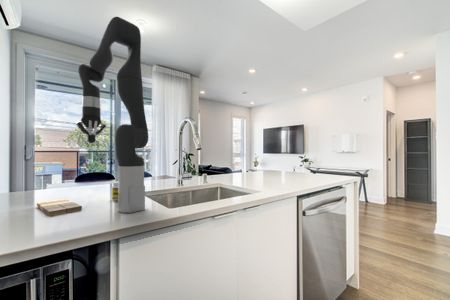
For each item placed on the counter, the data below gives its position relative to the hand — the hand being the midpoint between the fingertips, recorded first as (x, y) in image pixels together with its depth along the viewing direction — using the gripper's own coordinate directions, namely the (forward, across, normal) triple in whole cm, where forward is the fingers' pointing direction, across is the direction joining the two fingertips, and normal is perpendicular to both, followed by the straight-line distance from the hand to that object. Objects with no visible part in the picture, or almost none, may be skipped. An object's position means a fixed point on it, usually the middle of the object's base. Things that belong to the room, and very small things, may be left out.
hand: (91, 142), depth 101 cm
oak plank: (+27, -15, -4) cm, 31 cm away
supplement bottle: (+27, +7, -12) cm, 31 cm away
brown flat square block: (+27, -15, -14) cm, 34 cm away
